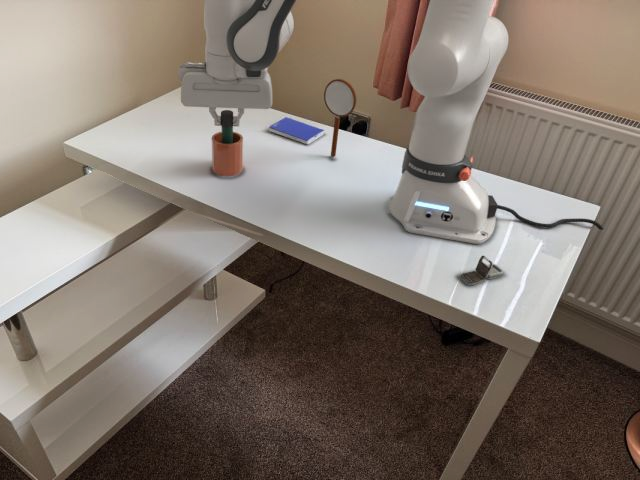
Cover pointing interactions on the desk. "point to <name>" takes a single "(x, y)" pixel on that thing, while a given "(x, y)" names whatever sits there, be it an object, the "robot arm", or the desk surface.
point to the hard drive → (296, 130)
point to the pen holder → (227, 155)
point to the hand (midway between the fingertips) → (227, 125)
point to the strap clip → (482, 272)
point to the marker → (227, 126)
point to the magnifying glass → (339, 104)
